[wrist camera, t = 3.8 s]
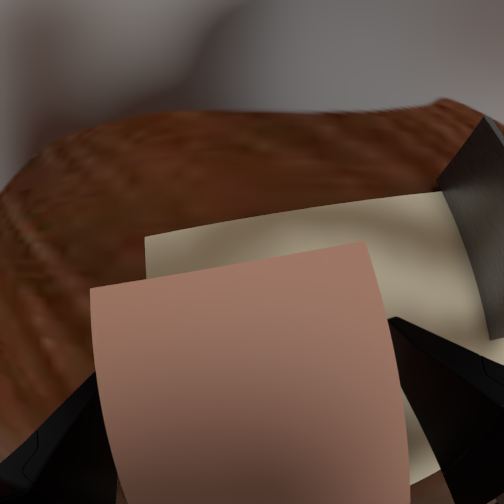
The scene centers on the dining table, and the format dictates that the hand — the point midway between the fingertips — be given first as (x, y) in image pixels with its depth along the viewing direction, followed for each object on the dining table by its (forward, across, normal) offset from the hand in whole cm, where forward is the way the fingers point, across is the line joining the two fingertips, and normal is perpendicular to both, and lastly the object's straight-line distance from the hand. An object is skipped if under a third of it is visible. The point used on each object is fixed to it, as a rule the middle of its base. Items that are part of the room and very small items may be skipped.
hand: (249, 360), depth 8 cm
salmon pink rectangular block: (+3, 0, +5) cm, 6 cm away
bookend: (+6, -16, +2) cm, 17 cm away
